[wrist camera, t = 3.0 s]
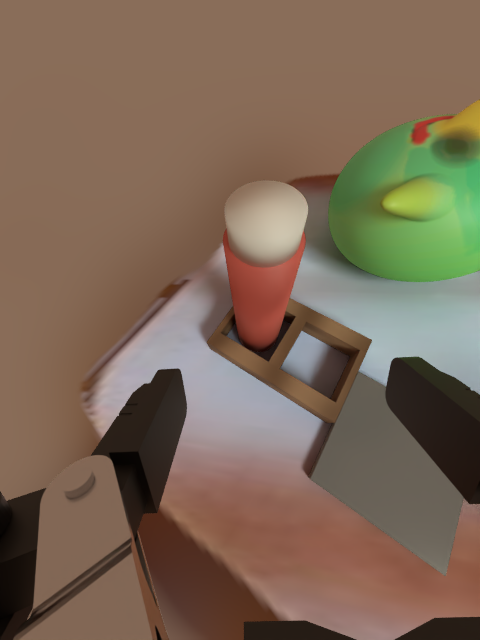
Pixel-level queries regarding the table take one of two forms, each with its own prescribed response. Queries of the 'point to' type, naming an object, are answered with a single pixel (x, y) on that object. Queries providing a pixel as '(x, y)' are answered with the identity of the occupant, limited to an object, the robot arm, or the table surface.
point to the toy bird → (413, 200)
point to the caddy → (271, 371)
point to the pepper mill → (263, 256)
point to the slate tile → (388, 476)
